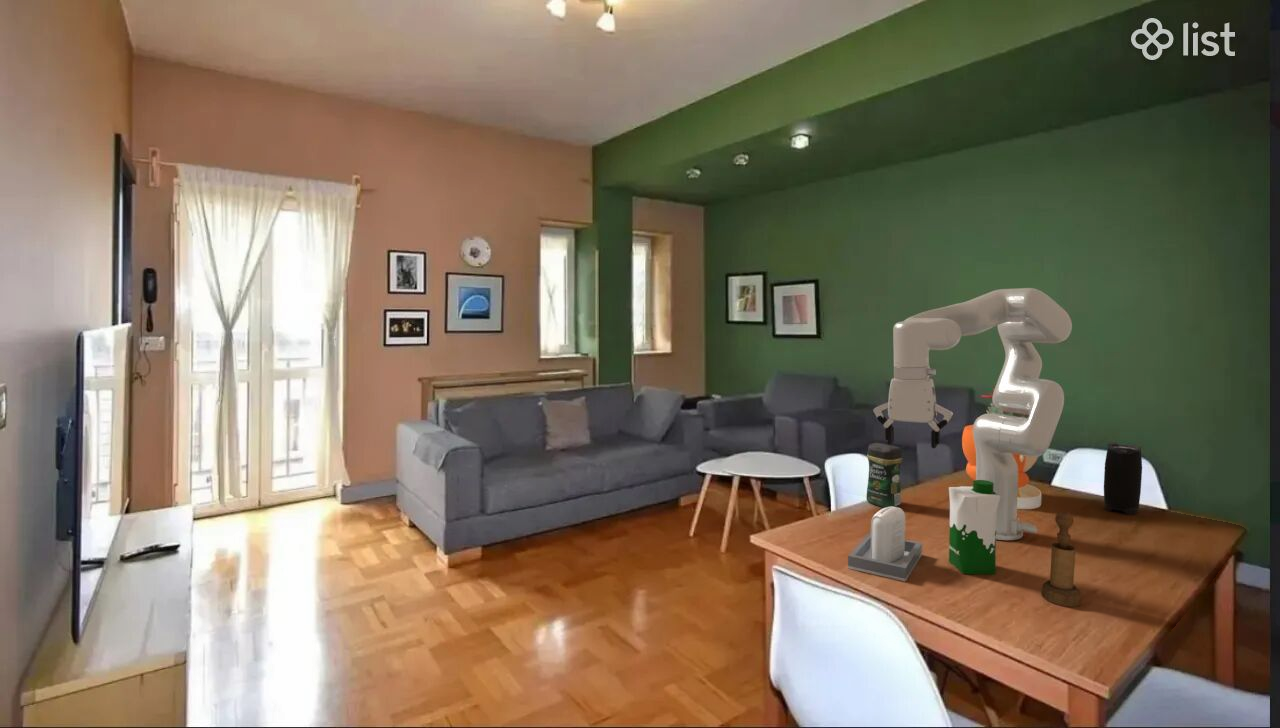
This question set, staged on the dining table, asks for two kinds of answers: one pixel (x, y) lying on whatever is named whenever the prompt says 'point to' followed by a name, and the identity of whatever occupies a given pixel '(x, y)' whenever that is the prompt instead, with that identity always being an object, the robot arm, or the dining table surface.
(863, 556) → the tray
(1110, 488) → the portable speaker
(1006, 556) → the dining table surface
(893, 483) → the coffee jar
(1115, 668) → the dining table surface
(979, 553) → the milk carton
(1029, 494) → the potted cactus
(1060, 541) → the mortar and pestle
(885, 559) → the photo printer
